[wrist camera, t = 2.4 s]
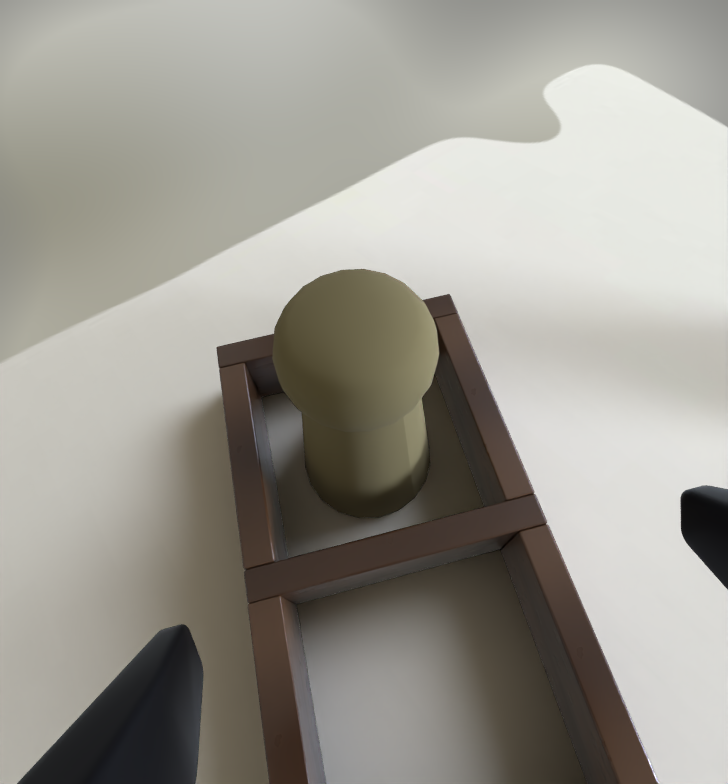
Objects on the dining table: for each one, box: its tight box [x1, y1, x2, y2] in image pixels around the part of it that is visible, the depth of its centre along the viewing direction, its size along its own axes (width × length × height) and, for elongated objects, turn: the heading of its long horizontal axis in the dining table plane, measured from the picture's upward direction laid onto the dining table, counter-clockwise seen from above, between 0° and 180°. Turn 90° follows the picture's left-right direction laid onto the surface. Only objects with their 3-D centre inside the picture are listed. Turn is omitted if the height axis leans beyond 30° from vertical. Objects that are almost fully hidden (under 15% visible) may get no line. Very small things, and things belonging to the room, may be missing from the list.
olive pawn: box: [272, 269, 439, 518], centre depth 19 cm, size 6×6×11 cm
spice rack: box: [217, 294, 659, 784], centre depth 20 cm, size 22×11×4 cm, turn 14°
